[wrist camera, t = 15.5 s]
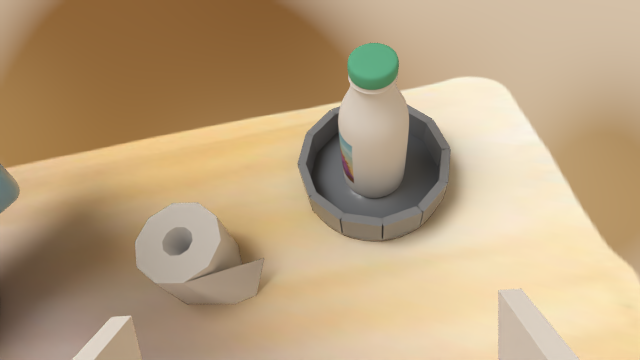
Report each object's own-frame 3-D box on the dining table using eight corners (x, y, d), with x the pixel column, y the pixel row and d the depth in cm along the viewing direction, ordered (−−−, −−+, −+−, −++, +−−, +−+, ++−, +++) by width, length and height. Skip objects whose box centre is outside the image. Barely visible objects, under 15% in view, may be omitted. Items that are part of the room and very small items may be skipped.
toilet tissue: (270, 304, 49) (251, 282, 42) (160, 304, 51) (124, 283, 43) (275, 231, 54) (260, 200, 46) (175, 234, 55) (144, 204, 48)
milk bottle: (411, 158, 56) (427, 38, 38) (392, 208, 52) (401, 100, 35) (356, 142, 58) (348, 22, 41) (334, 189, 55) (316, 80, 37)
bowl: (330, 261, 51) (326, 246, 47) (289, 146, 60) (283, 125, 56) (469, 212, 52) (477, 193, 48) (408, 107, 61) (411, 82, 57)
